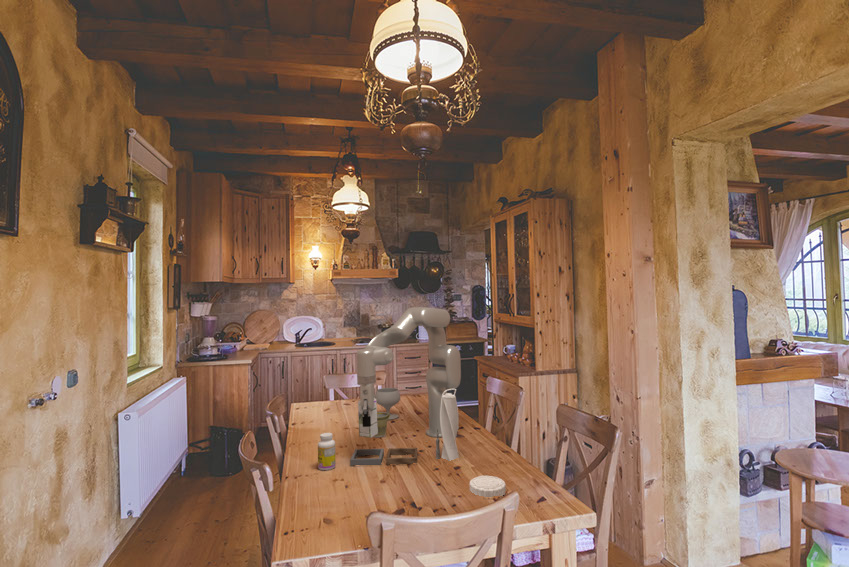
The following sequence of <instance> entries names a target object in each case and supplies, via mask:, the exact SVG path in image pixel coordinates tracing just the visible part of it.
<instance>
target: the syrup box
mask: <svg viewBox="0 0 849 567" xmlns="http://www.w3.org/2000/svg"><path fill="white" fill-rule="evenodd" d="M367 408H369V406H368V402H367ZM357 409H358V412H357V413H358V415H357V416H358V436H359V437H361V438H371V439H372V438H374V437H373V436H375V435H377V434H378V428H377V412H378V405H377V402H376V399H374V408H373V409H370V416H371V426H370V427H363V421H362V416H363V410H362V409H361V401H360V399H359V400H357Z"/></svg>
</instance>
